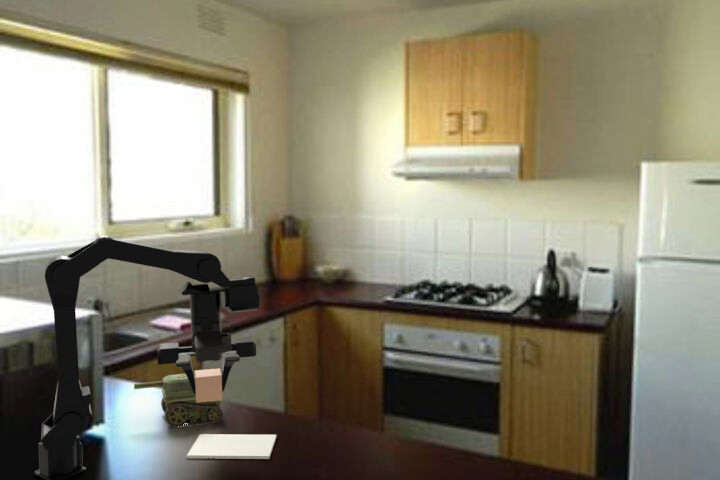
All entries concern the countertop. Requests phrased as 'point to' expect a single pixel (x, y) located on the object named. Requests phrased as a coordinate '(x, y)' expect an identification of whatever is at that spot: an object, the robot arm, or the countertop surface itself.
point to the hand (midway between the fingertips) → (208, 392)
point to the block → (208, 385)
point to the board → (232, 446)
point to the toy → (183, 402)
